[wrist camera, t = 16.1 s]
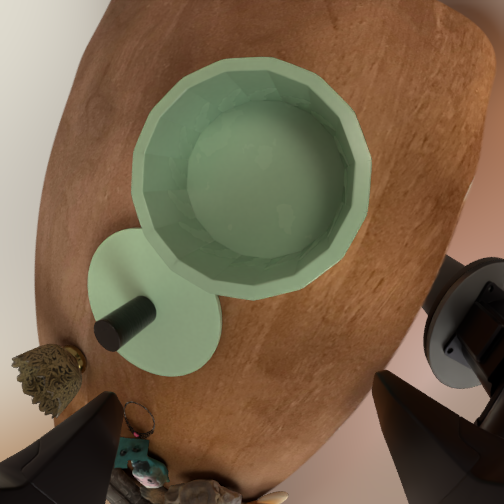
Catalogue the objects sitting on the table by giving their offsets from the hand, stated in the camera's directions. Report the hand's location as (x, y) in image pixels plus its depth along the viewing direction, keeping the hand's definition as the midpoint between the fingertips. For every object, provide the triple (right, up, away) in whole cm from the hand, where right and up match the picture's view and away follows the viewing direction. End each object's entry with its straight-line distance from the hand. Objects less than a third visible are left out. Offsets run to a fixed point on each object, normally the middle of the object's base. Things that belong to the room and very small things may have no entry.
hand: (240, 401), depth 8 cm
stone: (-8, -27, +20) cm, 35 cm away
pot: (+1, +10, +10) cm, 14 cm away
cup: (-20, -7, +19) cm, 28 cm away
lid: (-8, 0, +14) cm, 16 cm away
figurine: (-14, -19, +15) cm, 28 cm away
